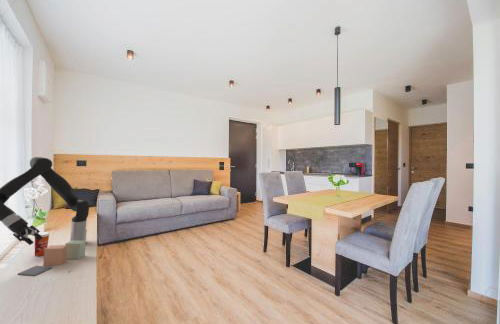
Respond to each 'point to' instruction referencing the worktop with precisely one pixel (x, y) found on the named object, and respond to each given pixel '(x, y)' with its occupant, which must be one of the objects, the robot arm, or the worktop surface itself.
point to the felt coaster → (34, 270)
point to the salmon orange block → (55, 255)
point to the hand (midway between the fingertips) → (36, 241)
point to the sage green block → (75, 249)
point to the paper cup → (41, 243)
